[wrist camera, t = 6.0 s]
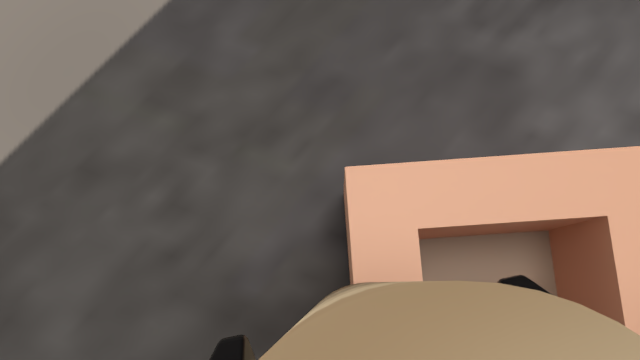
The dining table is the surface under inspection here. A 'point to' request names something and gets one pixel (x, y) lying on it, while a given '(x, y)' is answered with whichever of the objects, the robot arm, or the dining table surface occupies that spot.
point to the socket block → (504, 224)
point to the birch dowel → (452, 325)
